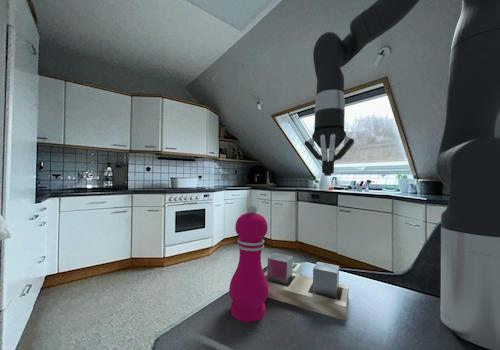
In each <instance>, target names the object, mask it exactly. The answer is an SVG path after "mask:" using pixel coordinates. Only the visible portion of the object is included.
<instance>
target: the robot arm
mask: <svg viewBox="0 0 500 350" xmlns="http://www.w3.org/2000/svg"><path fill="white" fill-rule="evenodd" d="M420 1H421V0H376V1H375V2H373V3H372V4H371V5H370V6H368V7H367V8H365V9H364V10H362V12H361V13H359V14H357V16H355V17H354V18H353V19H352V20H351V21H350V23H349V31H350V32H349V33H347V35H346V36H345V37H344V38H343V39H342V38H341V37H340V36H339V35H338V34H337V33H336V32H333V31H327V32H325V33H322V34H321V35H320V36H319V37H317V38H318V39H317V40H316V42H315V44H314V47H313V52H312V55H313V57H312V58H313V65H314V73H315V76H316V95H315V96H316V97H315V103H314V105H315V106H314V127H313V128H314V131H313V133H312V135H311V136H312V137H311V138H310V139H308V140H306V141H304V146H305V147H306V148H307V150H308V151H309V152H310V153H311V154H312V155H313V157H314V158H315V159H316V160H318V161H321V172H322V174H323V175H324V177H326V176H328V177H331V176H332V175H333V174H334V172H335V162H336V161H339V160H341V159H342V158H343V157H344V156H345V155H346V154H347V152H348V151H350V150H351V148H352V147H353V146H354V144H355V140H354V139H353V138H350V137H348V135H347V133H346V131H345V114H346V113H345V112H346V111H345V109H346V108H345V107H346V101H345V77H344V73H343V71H342V68H343V67H344V66H346V65H347V64H348V63H349V62H350V61H352V60H353V59H354V58H355V56H357V55H358V54H359V53H360V52H361V51H362V50H363V49H364V48H365V47H366V46H367V45H368V44H369V43H371V42H372V41H374V40H375V39H377V38H379V37H381V36H382V35H383V34H385V33H386V32H388V31H390V30H391V29H392V28H394V27H395V26H396V25H397V24H399V22H401V21H402V20H403V19H404V18H405V17H407V15H408V14H409V13H410V12H411V11H412V9H413V8H415V6H416V5H417V4H418V3H419V2H420ZM449 53H450V54H449V63H448V64H449V65H448V79H447V80H448V81H447V83H448V84H447V92H446V105H445V106H446V107H445V108H446V111H445V112H446V114H445V123H444V129H443V133H442V137H441V142H440V145H439V150H438V154H437V158H436V163H435V172H436V175H437V178H438V180H439V182H441V183H442V184H443V186H445V187H446V188H448V189H449V197H448V198H449V199H448V204H447V206H446V208H445V210H444V211H442V213H441V215H440V309H439V310H440V320H441V322H442V324H444V325H445V326H446V327H447V328H448V329H449V330H450V331H451V332H452V333H453V334H454V335H456V336H457V337H458V338H459V337H460V338H461V339H462V340H465V341H467V342H470V343H472V344H474V345H477V346H480V347H482V348H484V349H488V350H500V137H497V136H496V135H495V133H496V126H497V125H496V123H497V119H498V115H499V113H500V0H462V4H461V12H460V16H459V19H458V22H457V24H456V27H455V29H454V34H453V38H452V42H451V49H450V52H449ZM342 142H343V146H342V147H341V149H339V151H338V152H337V151H336V149H337V148H338V147H340V146H341V144H342ZM315 143H316V144H315ZM315 145H317V147H318V148H320V152H321V153H320V154H319V152H318V151H317V150H316V149H315ZM336 152H337V153H336Z"/></svg>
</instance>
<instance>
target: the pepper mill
mask: <svg viewBox="0 0 500 350" xmlns="http://www.w3.org/2000/svg"><path fill="white" fill-rule="evenodd" d="M257 211H258V208H257V206H256V205H255V204H249V205H248V207H247V213H243V214H241V215H240V216H238V218H237V219H236V222H235V225H234V227H235V232H236V234H237V236H238V237H239V238H238V239H237V245H236V246H237V248H238V249H239V259H238V264H237V267H236V269H235V271H234V274H233V275H232V277H231V280H230V284H229V289H228V294H229V297H230V299H231V300H232V301H231V304H230V315H231V316H232V317H233V318H234V319H236V320H238V321H240V322H243V323H253V322H257V321H260V320H261V319H263V318H264V317H265V314H266V304H265V302H266V300H267V299H268V298H269V297H268V283H267V279H266V277H265V274H264V273H265V272H264V269H263V266H262V261H261V260H262V250H264V249H265V240H264V237H265V236H266V235H267V233H268V227H269V226H268V222H267V220H266V218H265V217H264V216H263V215H261V214H259V213H257Z"/></svg>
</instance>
